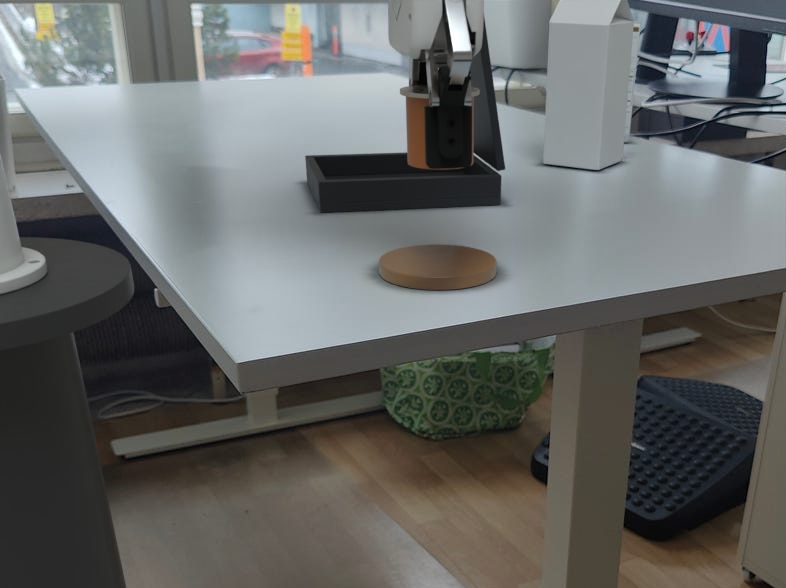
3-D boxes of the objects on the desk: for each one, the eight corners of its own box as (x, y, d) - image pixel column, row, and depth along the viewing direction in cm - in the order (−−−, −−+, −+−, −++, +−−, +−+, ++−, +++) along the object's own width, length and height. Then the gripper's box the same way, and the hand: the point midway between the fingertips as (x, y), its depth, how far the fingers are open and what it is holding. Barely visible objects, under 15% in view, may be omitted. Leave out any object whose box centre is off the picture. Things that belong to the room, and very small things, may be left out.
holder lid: (466, -46, 82) (475, -48, 82) (434, -47, 94) (442, -48, 94) (497, 171, 92) (505, 169, 92) (464, 146, 103) (472, 145, 103)
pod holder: (320, 212, 90) (318, 182, 88) (307, 183, 101) (305, 155, 100) (500, 204, 94) (501, 175, 92) (468, 177, 105) (468, 150, 104)
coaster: (390, 293, 69) (389, 280, 68) (371, 259, 76) (370, 247, 76) (510, 286, 71) (510, 272, 70) (480, 253, 78) (480, 241, 78)
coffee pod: (409, 172, 67) (407, 94, 64) (395, 158, 71) (393, 85, 69) (487, 169, 68) (488, 93, 65) (468, 155, 72) (468, 83, 70)
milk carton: (598, 171, 109) (612, -19, 99) (542, 165, 112) (550, -20, 102) (622, 162, 114) (638, -20, 104) (568, 156, 117) (578, -21, 107)
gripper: (357, -133, 67) (371, 141, 76) (400, -156, 52) (410, 186, 61) (462, -130, 68) (463, 138, 77) (531, -152, 54) (522, 180, 63)
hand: (439, 156), depth 69 cm, fingers closed on coffee pod, 5 cm apart
